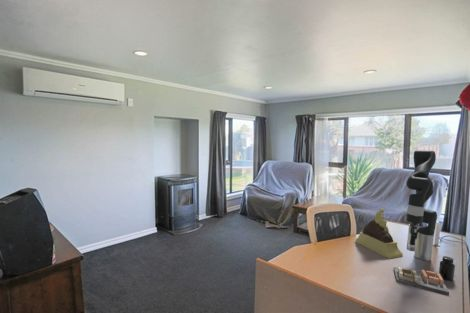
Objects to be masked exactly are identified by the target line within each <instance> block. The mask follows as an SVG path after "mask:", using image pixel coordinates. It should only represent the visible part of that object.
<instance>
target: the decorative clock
mask: <svg viewBox="0 0 470 313" xmlns="http://www.w3.org/2000/svg"><path fill="white" fill-rule="evenodd" d="M384 211H385V210H384V208H380V209H379V210H377V212H376V213H375V215H374V216H375V217H374V219H372V220H370V221H369V222H368V223H367V224H366V225H364V226H363V230H362V231H360V232H359V235H358V237H357V238H355V243H357V244H360V245H361V246H363V247H365V248H367V249H369V250H371V251H373V252H374V253H378V254H379V255H381V256H383V257H385V258H387V259H395V258H400V257H403V256H404V255H403V253H402V251H401V250H400V249H399V248H398V242H397V241H395V240H394V239H393V236H392V235H391V233H390V231H389V227H388V225H387V223H388V220H386V219H384V218H385V216H384Z"/></svg>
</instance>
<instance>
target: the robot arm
mask: <svg viewBox="0 0 470 313" xmlns="http://www.w3.org/2000/svg"><path fill="white" fill-rule="evenodd" d="M436 154H437V153H436V152H435V151H434V150H432V149H422V150H421V149H416V150H414V152H413V165H414V171H413V172H412V173H413V174H411V175H410V176H409V177H408V178H407V179H406V180H407V181H406V187H407V188H408V189H409V190H414V191H415V193H411V194H410V195H409V196H408V205H407V206H406V207H407V209H406V215H405V216H406V217H405V220H406V221H407V222H408V231H410V234H411V236H410V245H415V239H416V247H415V251H414V254H413V256H414V257H415V258H416V259H418V260H421V261H425V262H429V261H431V260H432V253H433V245H434V238H435V231H436V224H437V220H438V213H437V211H435V210H431V209H427V208H425V207H424V206H425V203H427V201H428V200H429V199H430V198H431V197H432V195H433V194H434V182H433V181H432V179H431V178H430V177H429V174H430V171H432V169H433V166H435V164H436V161H437V160H436V159H437V156H436ZM423 223H424V224H427V226H418V225H419V224H420V225H421V224H423ZM413 235H415V236H413Z"/></svg>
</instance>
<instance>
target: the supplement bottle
mask: <svg viewBox="0 0 470 313" xmlns="http://www.w3.org/2000/svg"><path fill="white" fill-rule="evenodd" d="M438 268H439V269H438V273H440V275H441V277H442V278H443V280H444V281H450V282H453V281H454V279H455V273H456V272H455V270H456V265H455V264H454V258H453V257H451V256H446V255H444V256H442V260H441V261H439V267H438Z"/></svg>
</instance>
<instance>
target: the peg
mask: <svg viewBox="0 0 470 313" xmlns="http://www.w3.org/2000/svg"><path fill="white" fill-rule="evenodd" d="M410 236H411V234H410V231H409V230H408V234H407V240H406V250H407V251H409V252H415V247H416V239H415V245H410ZM413 236H415V235H413Z"/></svg>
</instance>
